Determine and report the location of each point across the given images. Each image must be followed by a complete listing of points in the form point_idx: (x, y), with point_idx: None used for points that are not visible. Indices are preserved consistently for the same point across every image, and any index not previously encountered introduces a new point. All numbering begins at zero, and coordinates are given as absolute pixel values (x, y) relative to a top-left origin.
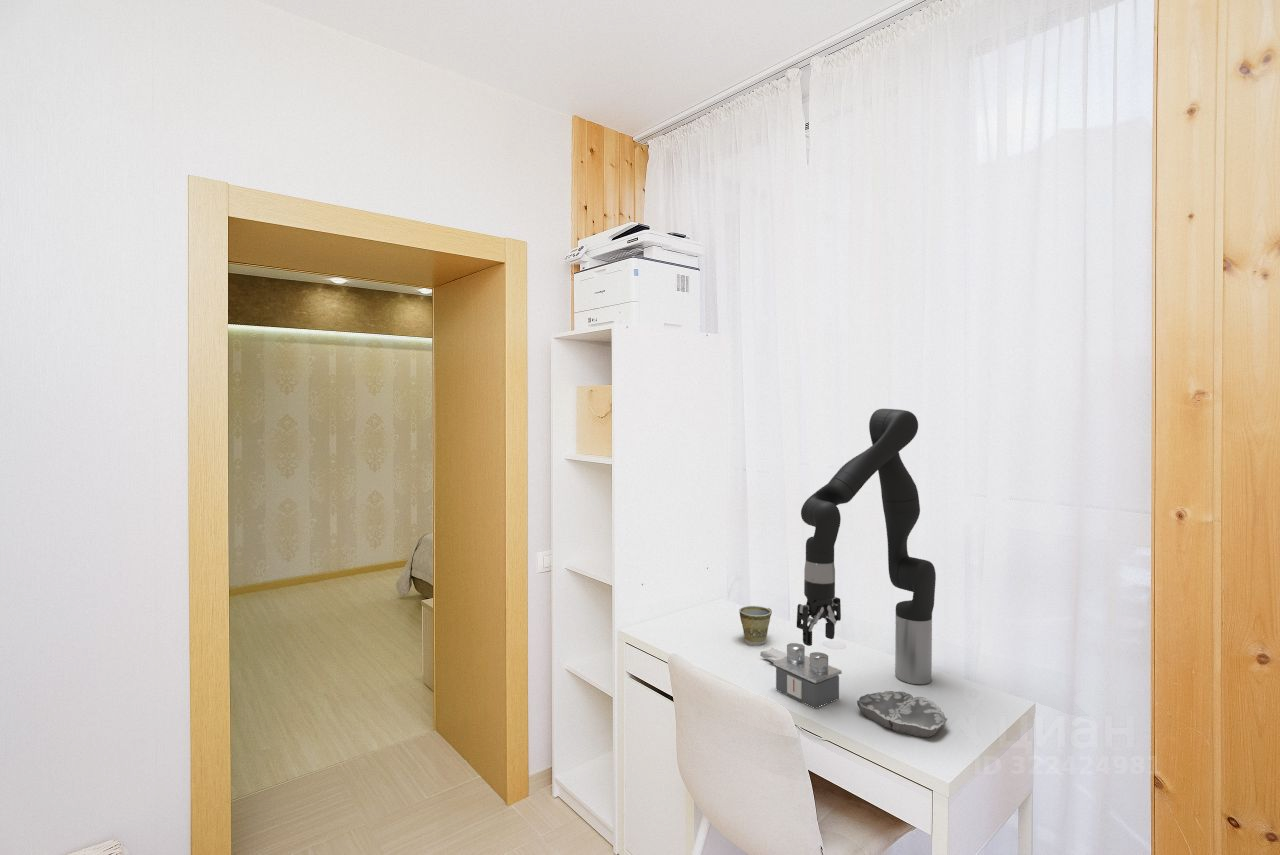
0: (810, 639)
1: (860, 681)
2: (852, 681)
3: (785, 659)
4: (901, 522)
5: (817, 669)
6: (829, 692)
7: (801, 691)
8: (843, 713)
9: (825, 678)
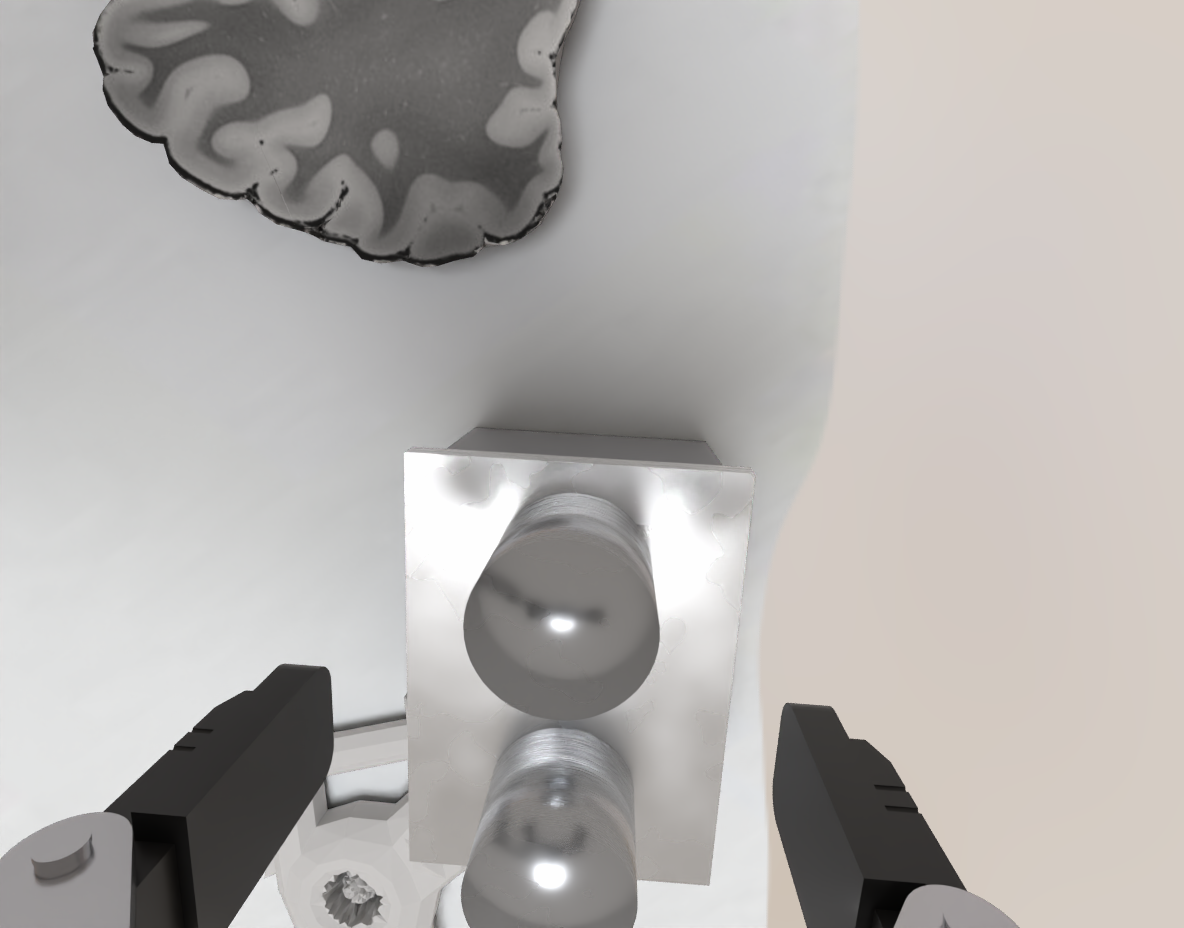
0: (858, 765)
1: (160, 483)
2: (204, 515)
3: None
4: None
5: (644, 549)
6: (561, 446)
7: None
8: (617, 292)
9: (624, 462)
